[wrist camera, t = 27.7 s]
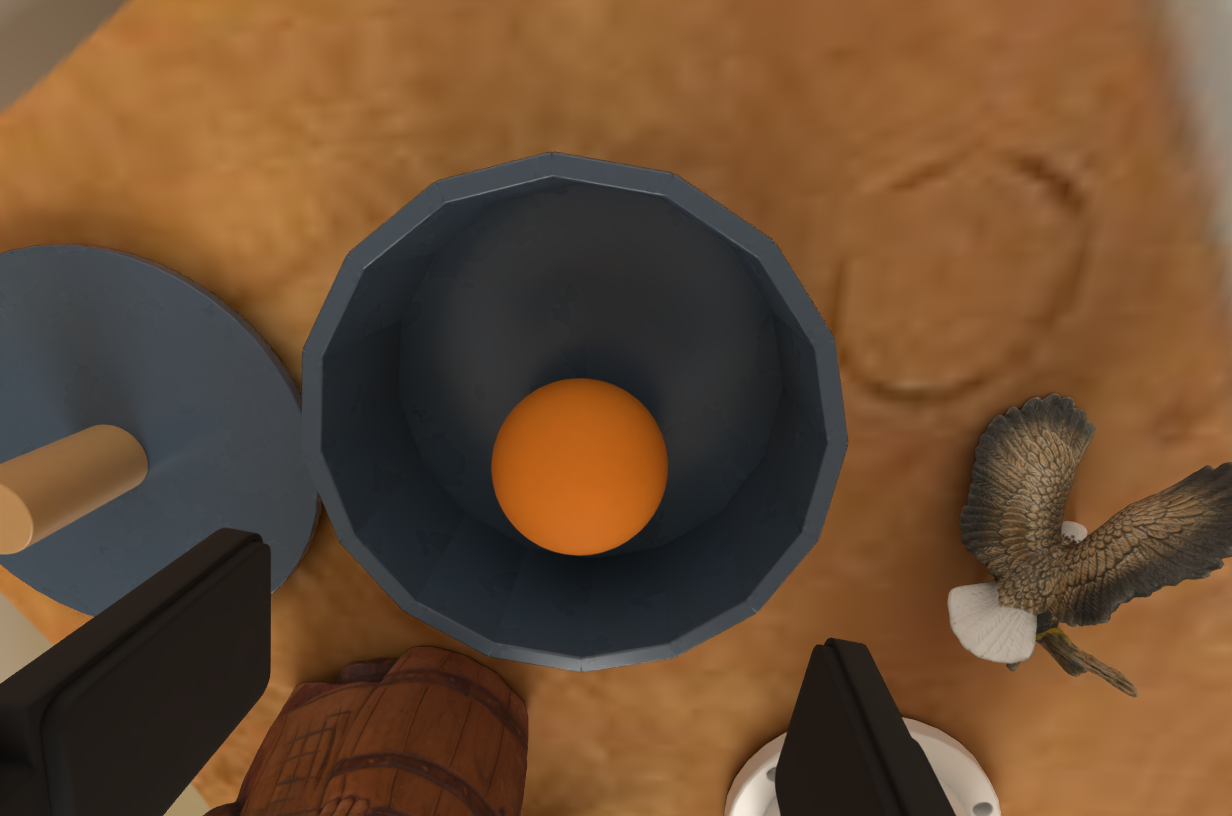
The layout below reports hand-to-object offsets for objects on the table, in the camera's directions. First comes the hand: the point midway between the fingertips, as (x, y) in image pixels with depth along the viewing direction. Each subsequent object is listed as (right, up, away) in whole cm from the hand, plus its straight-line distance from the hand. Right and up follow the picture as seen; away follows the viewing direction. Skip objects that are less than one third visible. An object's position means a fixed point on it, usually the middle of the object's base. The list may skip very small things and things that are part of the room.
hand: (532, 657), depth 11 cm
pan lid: (-19, +2, +15) cm, 24 cm away
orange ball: (0, +2, +11) cm, 11 cm away
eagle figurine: (+18, 0, +15) cm, 23 cm away
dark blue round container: (0, +5, +14) cm, 15 cm away
